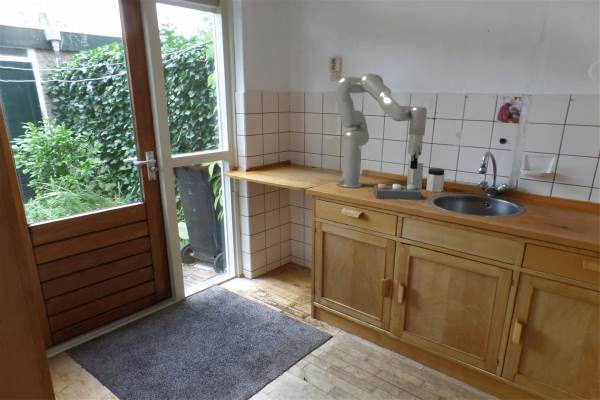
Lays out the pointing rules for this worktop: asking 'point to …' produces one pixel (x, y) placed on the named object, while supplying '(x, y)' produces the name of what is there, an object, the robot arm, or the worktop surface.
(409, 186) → the sage button
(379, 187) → the terracotta button
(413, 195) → the button panel
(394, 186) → the cream button
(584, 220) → the worktop surface
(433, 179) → the jar
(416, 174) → the skincare box
